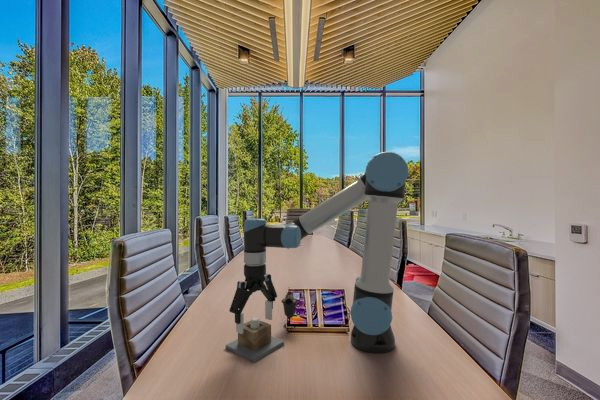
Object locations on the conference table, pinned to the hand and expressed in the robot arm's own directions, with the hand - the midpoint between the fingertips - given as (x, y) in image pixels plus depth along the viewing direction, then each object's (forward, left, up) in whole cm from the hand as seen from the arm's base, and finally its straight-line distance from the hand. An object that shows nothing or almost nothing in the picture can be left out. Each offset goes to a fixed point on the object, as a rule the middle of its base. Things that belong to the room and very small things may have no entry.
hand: (255, 325), depth 102 cm
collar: (0, 0, -6) cm, 6 cm away
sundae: (+1, -20, -7) cm, 21 cm away
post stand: (0, 0, -7) cm, 7 cm away
